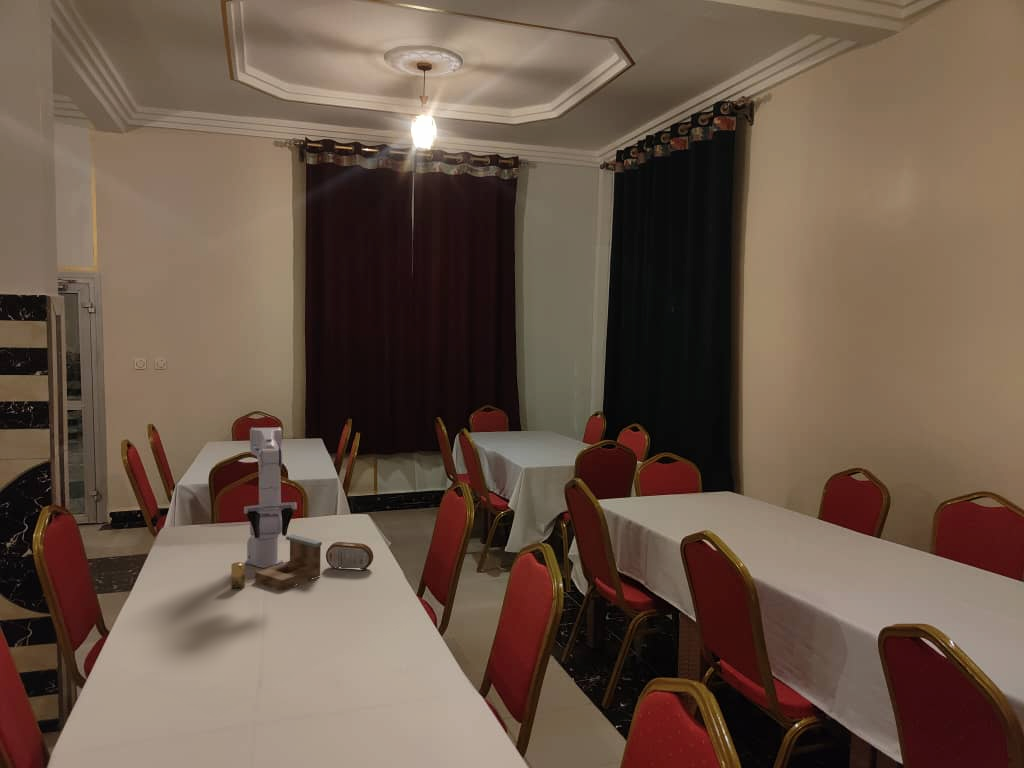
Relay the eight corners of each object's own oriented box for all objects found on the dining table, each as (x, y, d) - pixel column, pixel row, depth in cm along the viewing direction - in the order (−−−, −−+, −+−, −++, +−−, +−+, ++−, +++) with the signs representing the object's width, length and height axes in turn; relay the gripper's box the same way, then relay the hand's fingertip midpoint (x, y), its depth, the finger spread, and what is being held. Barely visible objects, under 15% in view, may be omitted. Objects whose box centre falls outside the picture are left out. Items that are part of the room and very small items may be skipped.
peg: (228, 588, 206) (228, 564, 205) (239, 584, 209) (239, 561, 208) (236, 590, 204) (236, 567, 203) (247, 587, 207) (247, 563, 206)
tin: (373, 569, 226) (373, 543, 226) (370, 572, 223) (370, 546, 223) (327, 566, 228) (328, 540, 227) (324, 569, 225) (324, 543, 224)
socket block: (253, 581, 212) (254, 545, 211) (292, 568, 224) (292, 534, 223) (283, 590, 205) (284, 553, 204) (321, 576, 217) (321, 541, 217)
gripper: (240, 490, 201) (240, 538, 198) (292, 485, 202) (292, 534, 199) (248, 492, 208) (248, 539, 205) (298, 488, 209) (299, 534, 206)
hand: (270, 536), depth 202 cm, fingers open, 7 cm apart
